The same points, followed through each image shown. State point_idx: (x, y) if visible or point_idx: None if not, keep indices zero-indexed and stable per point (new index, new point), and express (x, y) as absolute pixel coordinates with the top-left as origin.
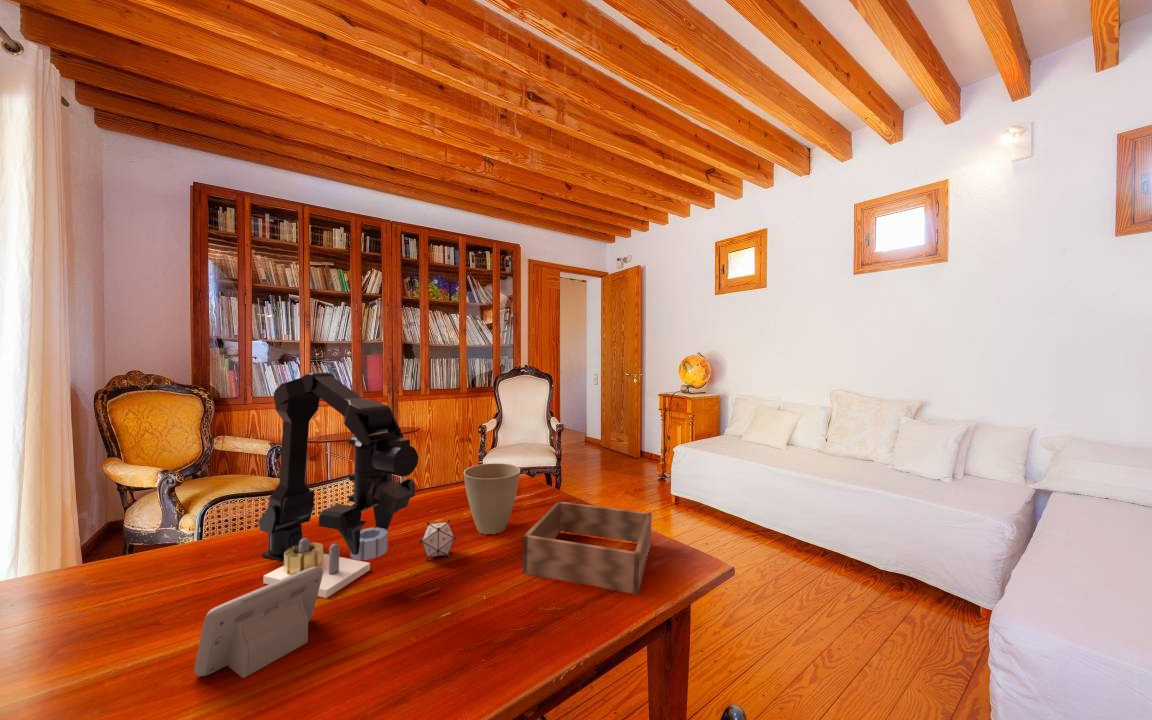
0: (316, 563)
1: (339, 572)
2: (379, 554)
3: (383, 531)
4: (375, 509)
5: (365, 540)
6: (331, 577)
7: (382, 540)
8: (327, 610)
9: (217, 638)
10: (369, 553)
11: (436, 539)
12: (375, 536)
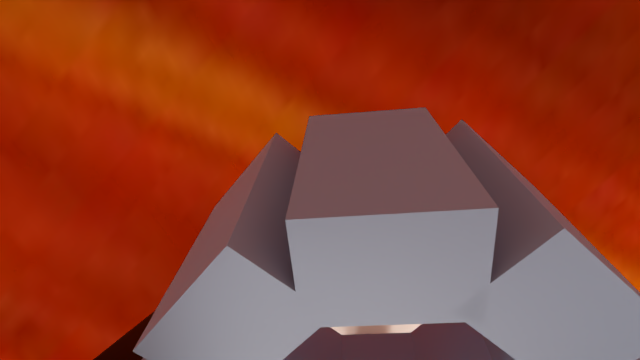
0: None
1: (358, 331)
2: (420, 115)
3: (215, 348)
4: None
5: (613, 355)
6: (408, 328)
7: (399, 179)
8: (585, 164)
9: None
10: (528, 183)
11: None
12: None
